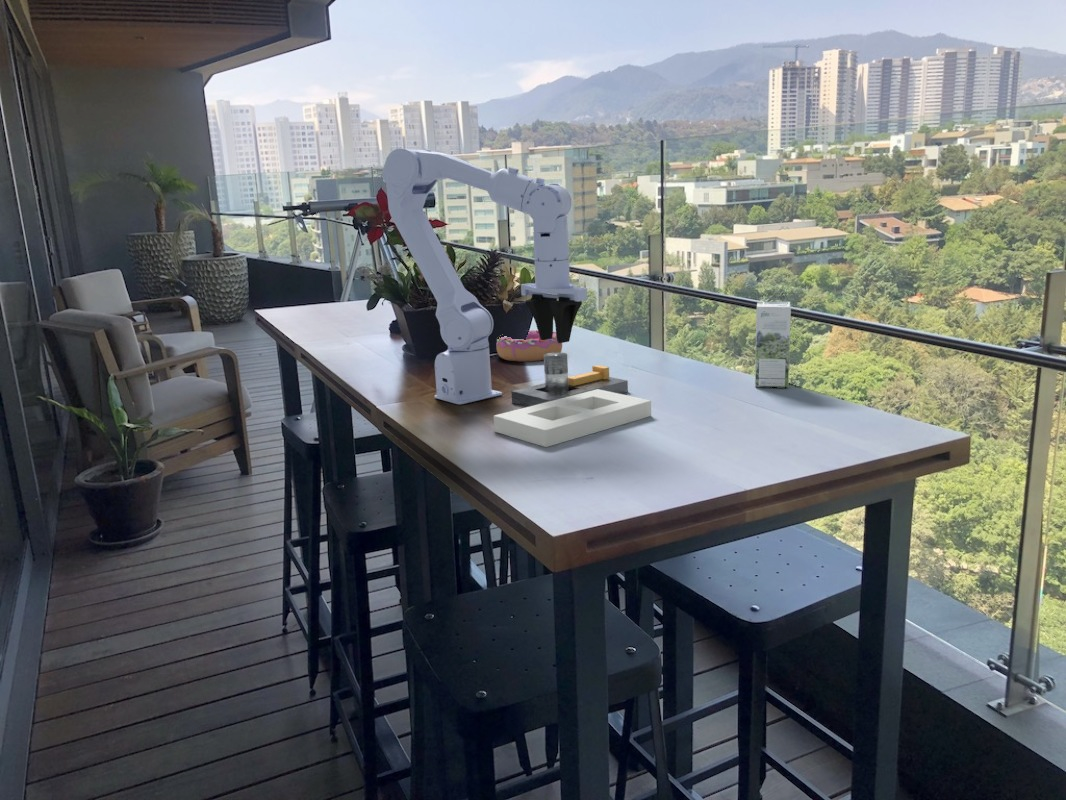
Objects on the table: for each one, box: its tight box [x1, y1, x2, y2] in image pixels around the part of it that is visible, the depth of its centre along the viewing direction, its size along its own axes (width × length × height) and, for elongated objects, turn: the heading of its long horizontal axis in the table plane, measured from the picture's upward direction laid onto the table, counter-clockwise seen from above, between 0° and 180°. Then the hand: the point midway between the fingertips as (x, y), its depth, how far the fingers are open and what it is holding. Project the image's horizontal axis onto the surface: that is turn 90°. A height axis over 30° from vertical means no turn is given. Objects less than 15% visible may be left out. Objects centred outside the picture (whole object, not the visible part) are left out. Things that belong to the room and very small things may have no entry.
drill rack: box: [493, 389, 652, 448], centre depth 134 cm, size 22×12×2 cm, turn 130°
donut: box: [495, 329, 563, 363], centre depth 188 cm, size 14×14×5 cm
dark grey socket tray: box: [511, 376, 629, 407], centre depth 151 cm, size 18×10×2 cm, turn 130°
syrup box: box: [754, 301, 792, 389], centre depth 151 cm, size 6×6×14 cm
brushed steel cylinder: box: [543, 352, 569, 394], centre depth 148 cm, size 4×4×8 cm
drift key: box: [568, 364, 610, 386], centre depth 153 cm, size 8×3×2 cm, turn 130°
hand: (554, 340), depth 147 cm, fingers open, 4 cm apart
